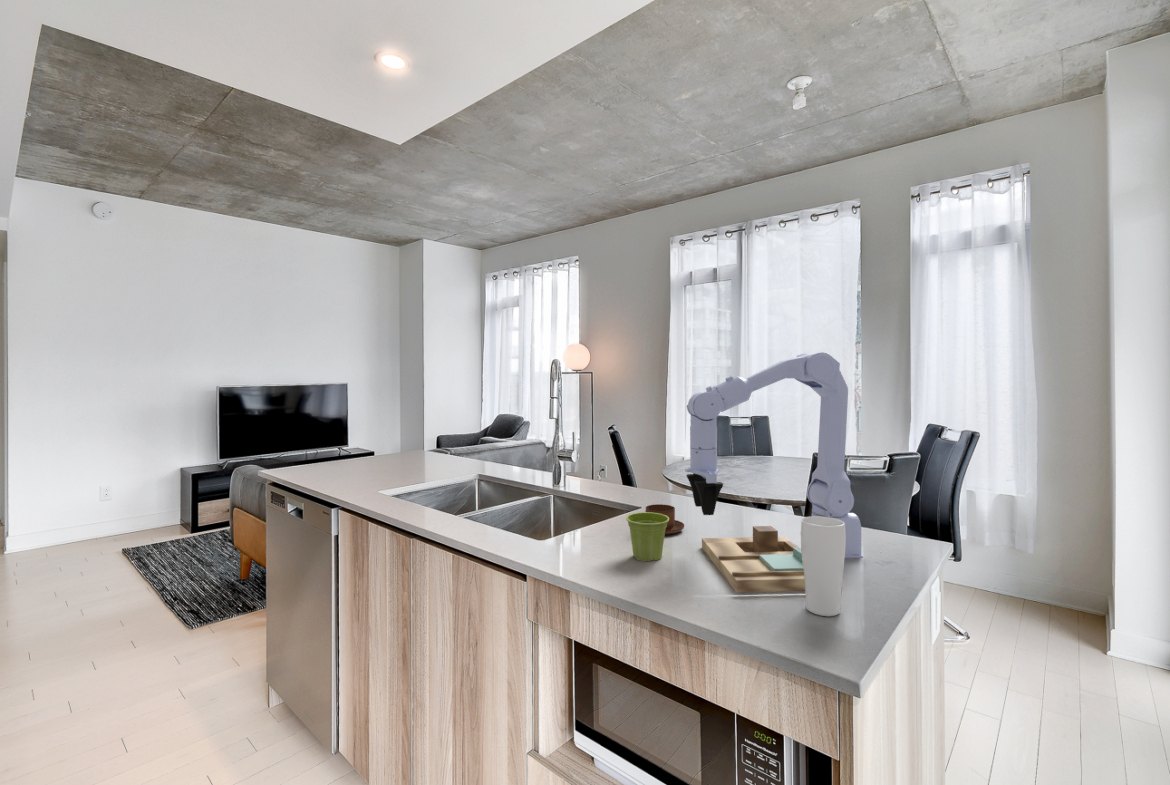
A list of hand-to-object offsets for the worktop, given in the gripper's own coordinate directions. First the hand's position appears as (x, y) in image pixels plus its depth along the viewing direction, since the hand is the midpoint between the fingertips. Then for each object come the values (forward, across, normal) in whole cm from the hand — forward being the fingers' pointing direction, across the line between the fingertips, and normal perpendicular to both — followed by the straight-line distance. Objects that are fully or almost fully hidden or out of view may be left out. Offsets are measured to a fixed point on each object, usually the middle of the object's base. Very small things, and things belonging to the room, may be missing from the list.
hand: (704, 510), depth 119 cm
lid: (+8, +14, +13) cm, 20 cm away
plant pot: (+10, 0, -12) cm, 16 cm away
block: (+10, +2, +13) cm, 16 cm away
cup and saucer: (+10, -20, -7) cm, 24 cm away
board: (+10, +8, +11) cm, 17 cm away
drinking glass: (+10, +29, +13) cm, 33 cm away
